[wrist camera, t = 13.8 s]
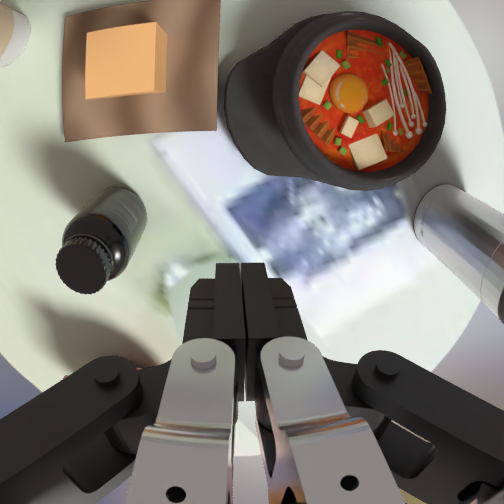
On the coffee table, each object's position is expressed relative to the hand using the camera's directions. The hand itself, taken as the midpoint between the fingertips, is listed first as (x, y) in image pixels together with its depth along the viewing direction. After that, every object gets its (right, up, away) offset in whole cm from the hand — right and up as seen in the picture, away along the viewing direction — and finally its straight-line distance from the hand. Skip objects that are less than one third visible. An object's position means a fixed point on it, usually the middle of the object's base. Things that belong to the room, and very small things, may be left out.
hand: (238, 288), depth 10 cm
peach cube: (-11, +19, +15) cm, 26 cm away
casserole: (+10, +17, +20) cm, 28 cm away
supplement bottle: (-14, +5, +23) cm, 28 cm away
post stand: (-11, +19, +16) cm, 28 cm away
